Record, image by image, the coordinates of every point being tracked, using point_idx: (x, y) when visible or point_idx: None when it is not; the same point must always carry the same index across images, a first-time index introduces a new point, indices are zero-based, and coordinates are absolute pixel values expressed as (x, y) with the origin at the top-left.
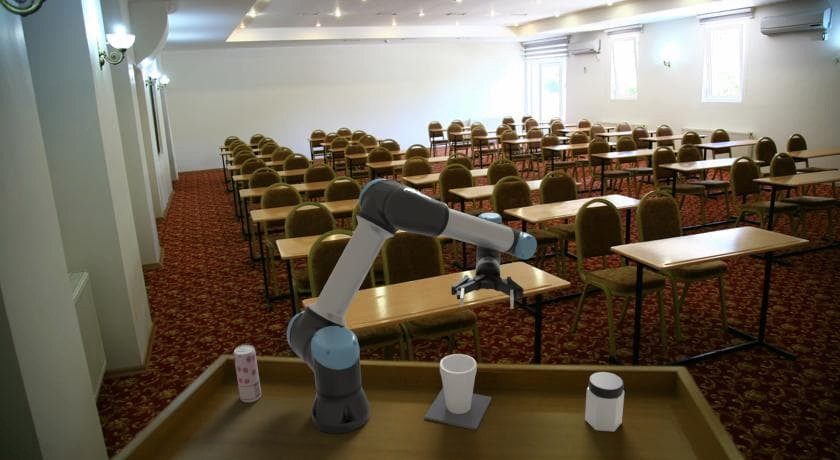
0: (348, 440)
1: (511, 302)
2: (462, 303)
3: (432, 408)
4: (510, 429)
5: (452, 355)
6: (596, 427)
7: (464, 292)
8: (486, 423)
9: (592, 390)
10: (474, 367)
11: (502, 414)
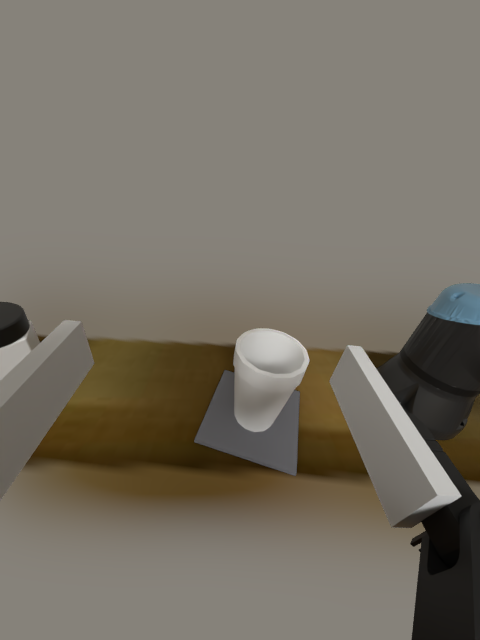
0: None
1: (81, 335)
2: (337, 368)
3: (294, 408)
4: (177, 372)
5: (291, 373)
6: None
7: (429, 578)
8: (209, 383)
9: (27, 322)
10: (238, 339)
11: (182, 401)
